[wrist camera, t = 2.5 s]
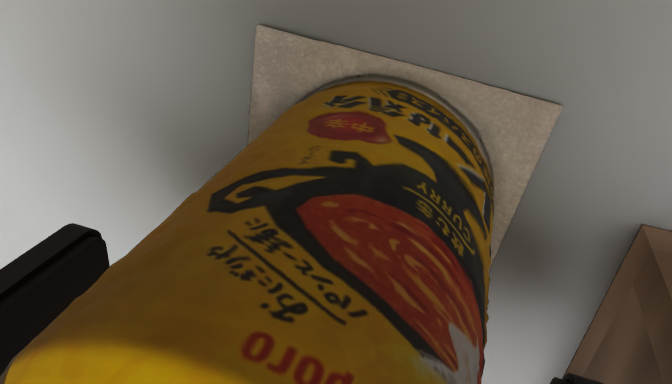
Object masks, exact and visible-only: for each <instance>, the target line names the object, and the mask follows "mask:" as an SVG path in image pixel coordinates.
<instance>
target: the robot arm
mask: <svg viewBox="0 0 672 384" xmlns="http://www.w3.org/2000/svg"><path fill="white" fill-rule="evenodd" d="M109 267H110V266H109V260H108V253H107V247H106V243H105V241H104V240H103V239H102V237H101V234H100V233H99V232H98V231H97V230H94V229H91V228H87V227H84V226H81V225H77V224H74V223H73V224H68V225H66V226H64V227H62V228H61V229H60V230H58V231H57V232H55V233H54V234H52V235H51V236H49V237H48V238H46V239H45V240H43V241H42V242H40V243H39V244H37V245H36V246H34V247H33V248H31V249H30V250H28V251H27V252H26V253H24V254H23V255H21V256H20V257H18V258H17V259H15V260H14V261H12V262H11V263H9V264H8V265H6V266H5V267H3V268H2V269H0V376H1V374H2V373H3V372H4V371H5V369H6V368H7V366H8V365H9V363H10V362H11V360H12V359H13V358H14V357H15V356H16V355H17V354H18V353H19V352H20V351H22V350H23V349H24V348H25V347H26V346H27V345H28V344H29V343H30V342H31V341H32V340H33V339H34V338H35V337H36V336H38V335H39V334H40V333H41V332H42V331H43V330H44V329H45V328H46V327H48V326H49V325H50V324H51V323H52V322H53V321H54V320H55V319H56V318H57V317H58V316H59V315H60V314H61V313H62V312H63V311H64V310H65V309H66V308H67V307H68V306H69V305H70V304H71V303H72V302H73V301H74V300H75V298H77V297H79V296H81V295H82V294H84V293H85V292H86V291H87V290H88V289H89V288H90V287H91V286H92V285H93V284H94V283H95V282H96V281H97V280H98V279H99V278H100V277H101V276H102V274H103V273H104V272H105V271H106V270H107V269H108V268H109ZM550 384H603V383H601V382H598V381H595V380H591V379H588V378H585V377H582V376H578V375H575V374H572V373H567V374H566V375H565V377H564V378H563V379H559V378H556V377H554V378H553V379H552V381H551V383H550Z"/></svg>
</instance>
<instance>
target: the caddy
mask: <svg viewBox="0 0 672 384" xmlns="http://www.w3.org/2000/svg"><path fill="white" fill-rule="evenodd" d="M567 373H572V374H575V375H578V376H582V377H585V378H588V379H591V380H595V381H598V382H601V383H603V384H672V232H671V231H667V230H663V229H658V228H654V227H650V226H645V225H642V226H641V228H640V230H639V232H638V234H637V236H636V238H635V240H634V242H633V244H632V246H631V248H630V249H629V251H628V253H627V255H626V257H625V259H624V261H623V263H622V265H621V267H620V269H619V271H618V273H617V275H616V277H615V279H614V280H613V282H612V284H611V286H610V288H609V290H608V292H607V294H606V296H605V298H604V300H603V302H602V304H601V306H600V308H599V309H598V311H597V313H596V315H595V317H594V319H593V321H592V323H591V325H590V327H589V329H588V331H587V333H586V335H585V337H584V339H583V340H582V342H581V344H580V346H579V348H578V350H577V352H576V354H575V356H574V358H573V360H572V362H571V364H570V366H569V368H568V369H567V371H566V373H565V375H566V374H567ZM565 375H564V377H565ZM564 377H563V378H564Z"/></svg>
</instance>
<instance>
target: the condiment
mask: <svg viewBox="0 0 672 384" xmlns="http://www.w3.org/2000/svg"><path fill="white" fill-rule="evenodd" d="M563 107H564V106H561V105H557V104H554V103H550V102H547V101H544V100H538V99H535V98H532V97H528V96H524V95H521V94H517V93H513V92H510V91H508V90H504V89H500V88H496V87H491V86H488V85H484V84H481V83H478V82H475V81H472V80H468V79H464V78H460V77H457V76H453V75H450V74H445V73H442V72H438V71H435V70H431V69H428V68H424V67H420V66H417V65H413V64H409V63H405V62H401V61H397V60H393V59H389V58H385V57H382V56H378V55H373V54H370V53H366V52H363V51H359V50H355V49H351V48H347V47H344V46H339V45H334V44H330V43H328V42H324V41H315V40H312V39H309V38H306V37H302V36H298V35H294V34H290V33H287V32H283V31H279V30H275V29H272V28H268V27H265V26H261V25H258V24H256V35H255V48H254V64H253V80H252V96H251V104H250V111H249V114H250V121H249V132H248V142H247V146H246V148H245V149H244V150H243V151H241V152H240V153H239V154H238V155H237V156H236V157H235V158H234V159H233V160H232V161H231V162H230V163H228V164H227V165H226V166H225V167H224V168H223V169H222V170H220V171H219V172H218V173H216V174H215V175H214V176H213V177H212V178H211V179H210V180H209V181H208V182H207V183H206V184H205V185H204V186H203V187H202V188H200V189H199V190H198V191H197V192H195V193H193V194H191V195H190V196H189V197H188V198H187V199H186V200H185V201H184V202H183V203H182V204H181V205H180V206H179V207H178V208H177V209H176V210H175V211H174V212H173V213H172V214H171V215H170V216H169V217H168V218H167V219H166V220H165V221H164V222H163V223H162V224H161V225H159V226H158V227H157V228H156V229H154V230H153V231H152V232H151V233H150V234H148V235H147V236H146V237H145V238H144V239H143V240H142V241H141V242H140V243H139V244H138V245H136V246H135V247H134V248H133V249H132V250H131V251H130V252H129V253H128V254H127V255H126V256H125V257H123V258H122V259H120V260H118V261H117V262H115V263H114V264H112V265H111V266H110V267H109V268H108V269H107V270H106V271H105V272H104V273H103V274H102V276H101V277H100V278H99V279H98V280H97V281H96V282H95V283H94V284H93V285H92V286H91V287H90V288H89V289H88V290H87V291H86V292H85V293H84V294H82V295H81V296H79V297H77V298H75V300H74V301H73V302H72V303H71V304H70V305H69V306H68V307H67V308H66V309H65V310H64V311H63V312H62V313H61V314H60V315H59V316H58V317H57V318H56V319H55V320H54V321H53V322H52V323H51V324H50V325H49V326H48V327H46V328H45V329H44V330H43V331H42V332H41V333H40V334H39V335H38V336H36V337H35V338H34V339H33V340H32V341H31V342H30V343H29V344H28V345H27V346H26V347H25V348H24V349H23V350H22V351H20V352H19V353H18V354H17V355H16V356H15V357H14V358H13V359H12V360H11V362H10V363H9V365H8V366H7V368H6V369H5V371H4V372H3V373H2V374H1V376H0V384H481V378H482V374H483V369H484V363H485V360H484V348H485V345H486V342H487V329H486V323H487V321H488V319H489V318H488V314H487V309H488V308H487V305H488V303H489V301H488V291H489V282H490V278H489V270H490V267H491V265H492V263H493V260H494V258H495V255H496V253H497V251H498V249H499V246H500V244H501V242H502V239H503V237H504V235H505V233H506V230H507V228H508V226H509V224H510V222H511V220H512V217H513V215H514V213H515V211H516V208H517V206H518V204H519V202H520V199H521V197H522V195H523V193H524V191H525V188H526V186H527V184H528V181H529V179H530V177H531V175H532V173H533V170H534V168H535V166H536V164H537V162H538V160H539V158H540V155H541V153H542V150H543V148H544V146H545V144H546V142H547V139H548V137H549V135H550V133H551V131H552V129H553V127H554V124H555V122H556V120H557V118H558V116H559V115H560V113H561V111H562V109H563Z"/></svg>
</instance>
